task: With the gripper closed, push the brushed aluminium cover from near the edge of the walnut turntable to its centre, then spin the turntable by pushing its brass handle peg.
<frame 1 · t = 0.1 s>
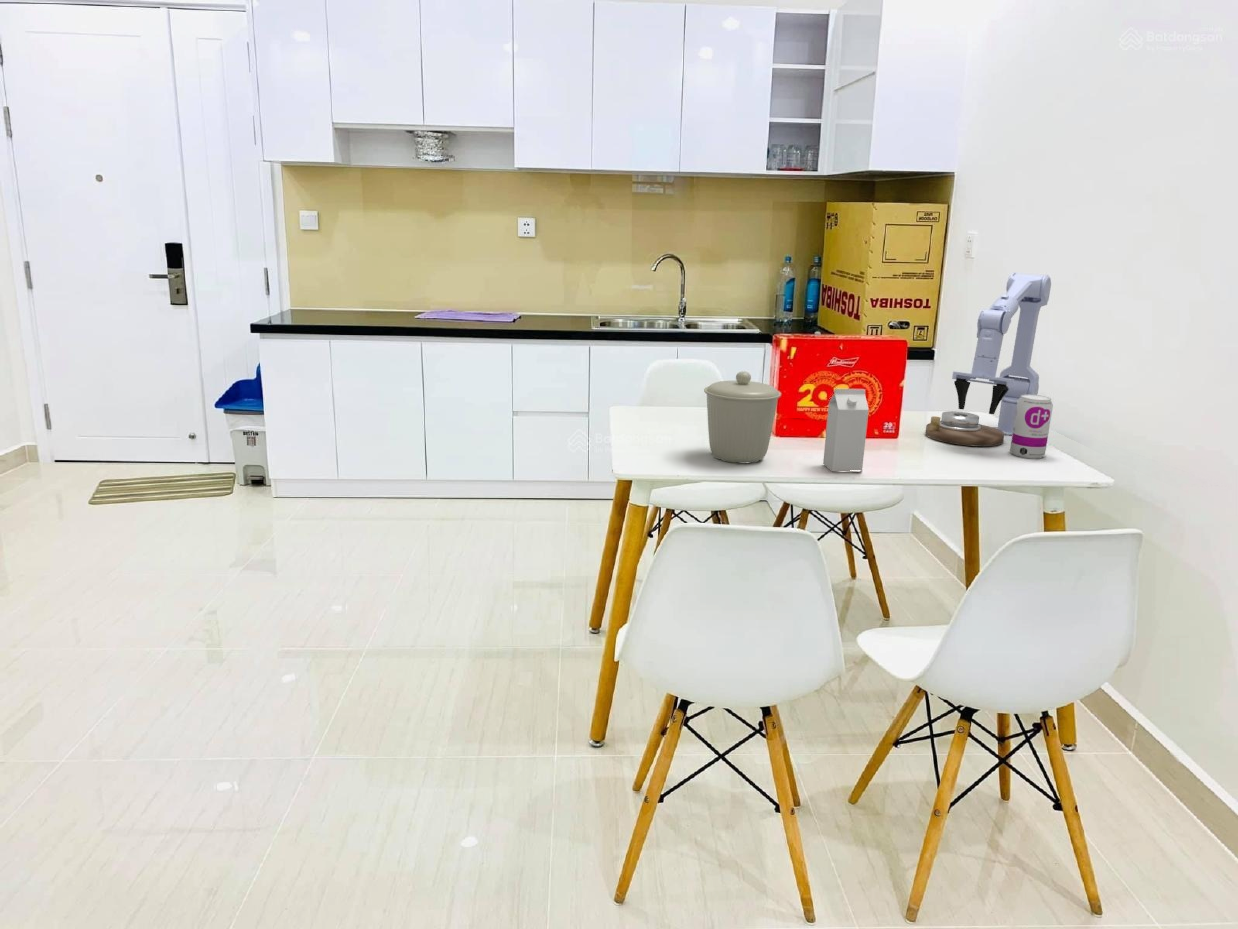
hand: (976, 411, 230), 11 cm above the table, tool pointing down, fingers open, 7 cm apart
canister: (737, 458, 220), on the table
turntable: (964, 427, 247), point 3 cm above the table, hinge at 0.0°, touching cover
supplement can: (1026, 455, 232), on the table
french press: (813, 417, 268), on the table
milk carton: (842, 469, 213), on the table
cover: (958, 427, 250), point 2 cm above the table, touching turntable
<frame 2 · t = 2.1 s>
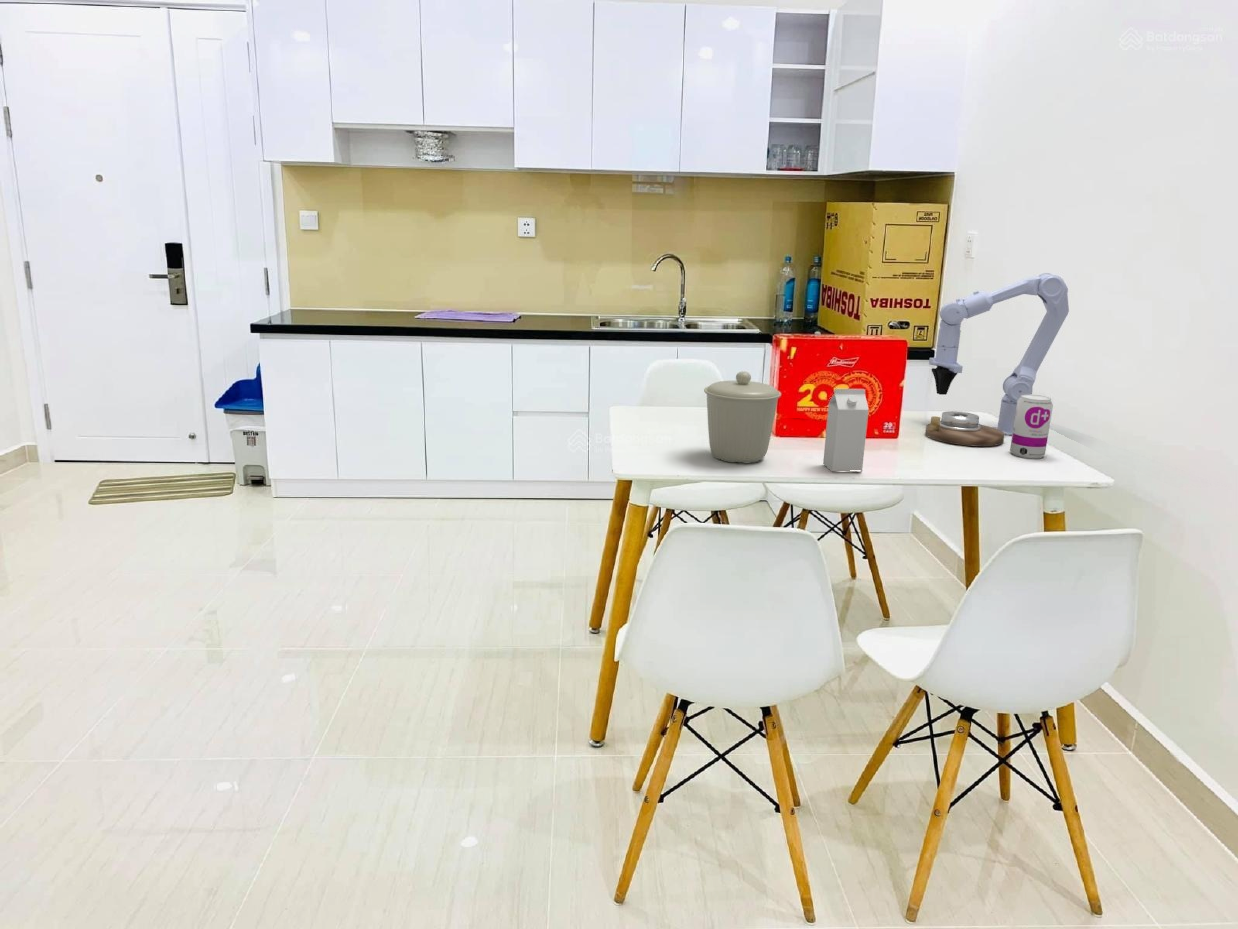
hand: (941, 393, 258), 9 cm above the table, tool pointing down, fingers closed
nothing on the table moved.
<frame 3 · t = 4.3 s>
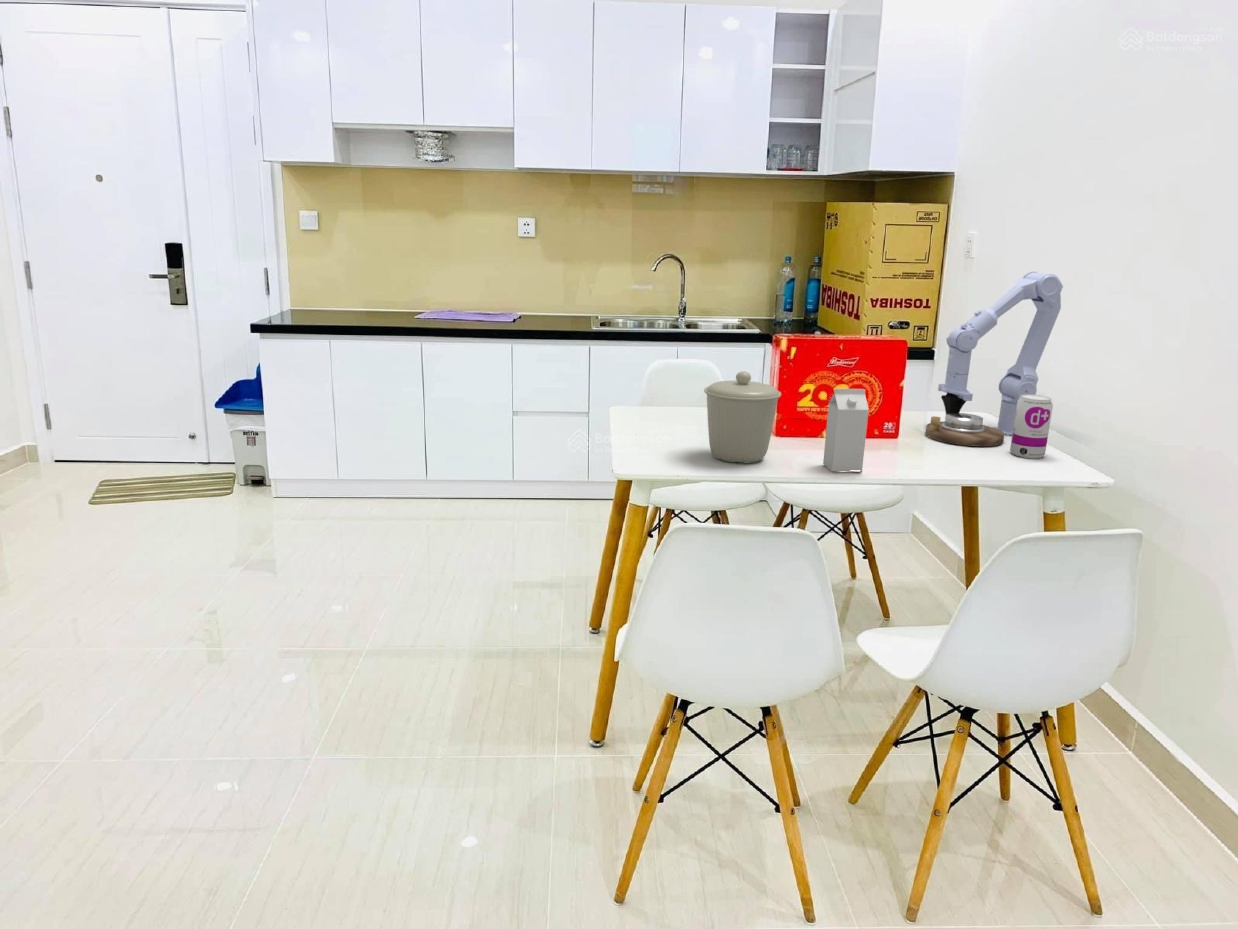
hand: (951, 421, 253), 3 cm above the table, tool pointing down, fingers closed
cover: (962, 428, 248), point 2 cm above the table, touching gripper, turntable
everything else where it was.
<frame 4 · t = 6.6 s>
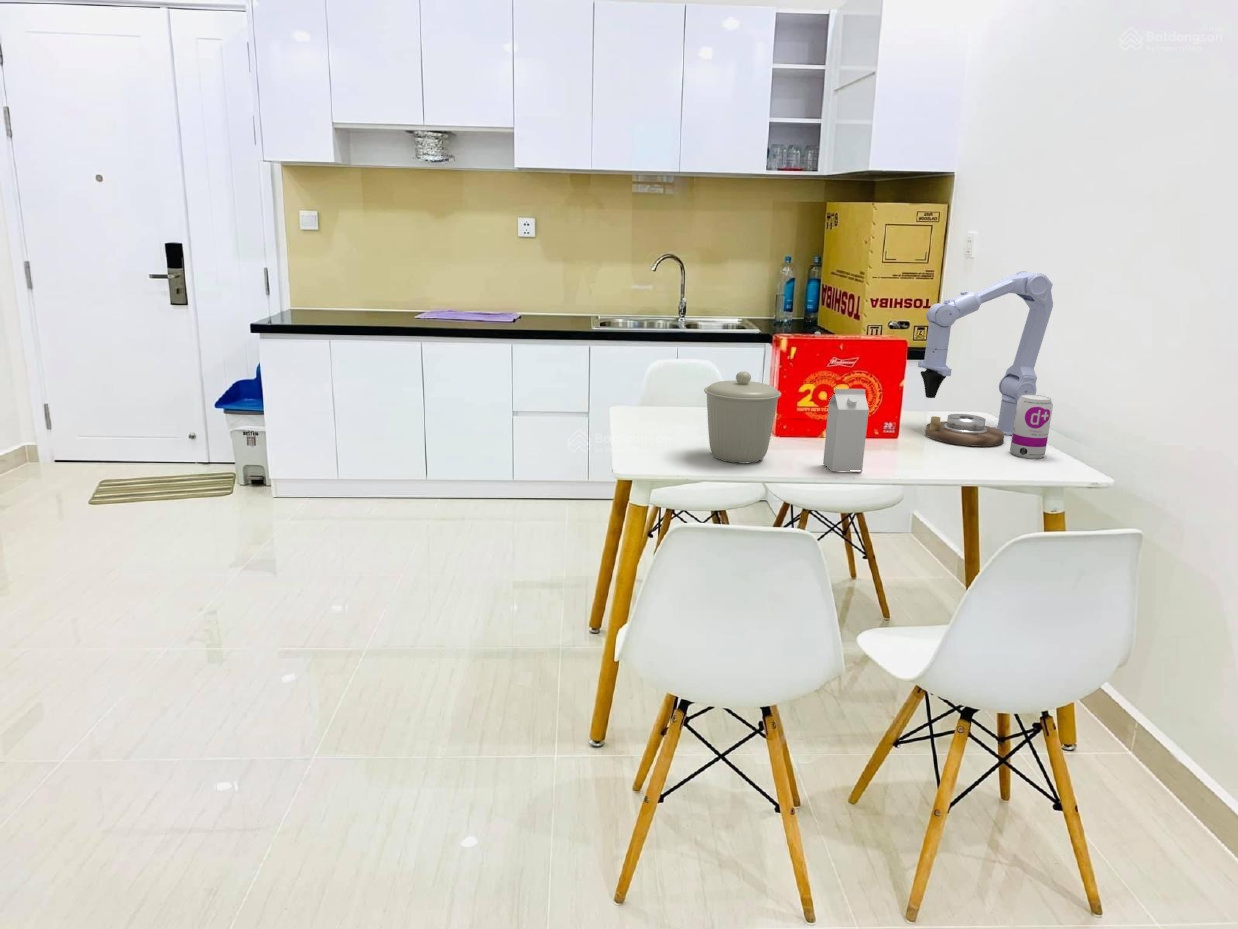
hand: (930, 397, 251), 10 cm above the table, tool pointing down, fingers closed
cover: (964, 429, 247), point 2 cm above the table, touching turntable
everything else where it was.
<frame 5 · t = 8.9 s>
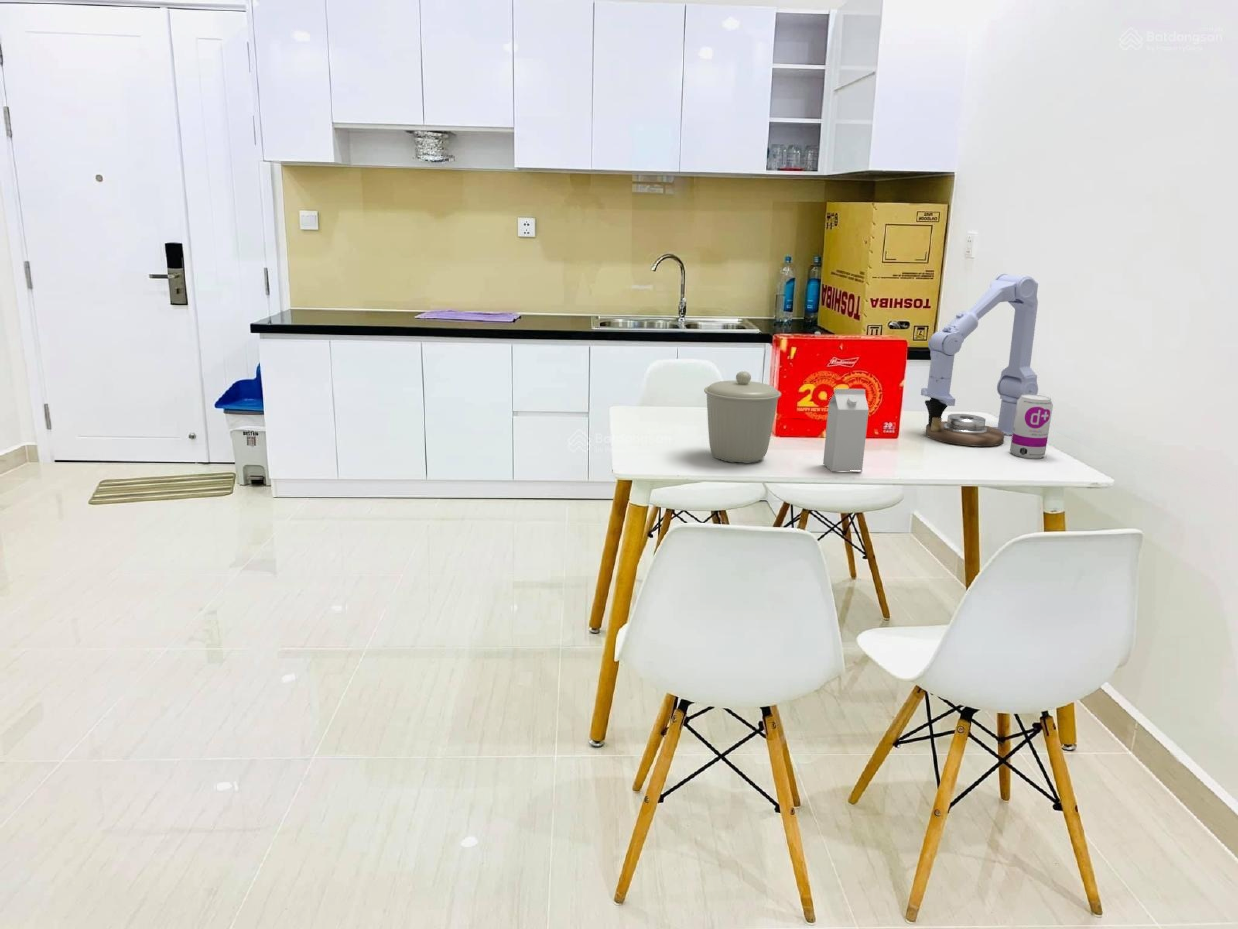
hand: (933, 426, 246), 3 cm above the table, tool pointing down, fingers closed, pressing on turntable
turntable: (964, 427, 247), point 3 cm above the table, hinge at 3.7°, touching cover, gripper
everything else where it was.
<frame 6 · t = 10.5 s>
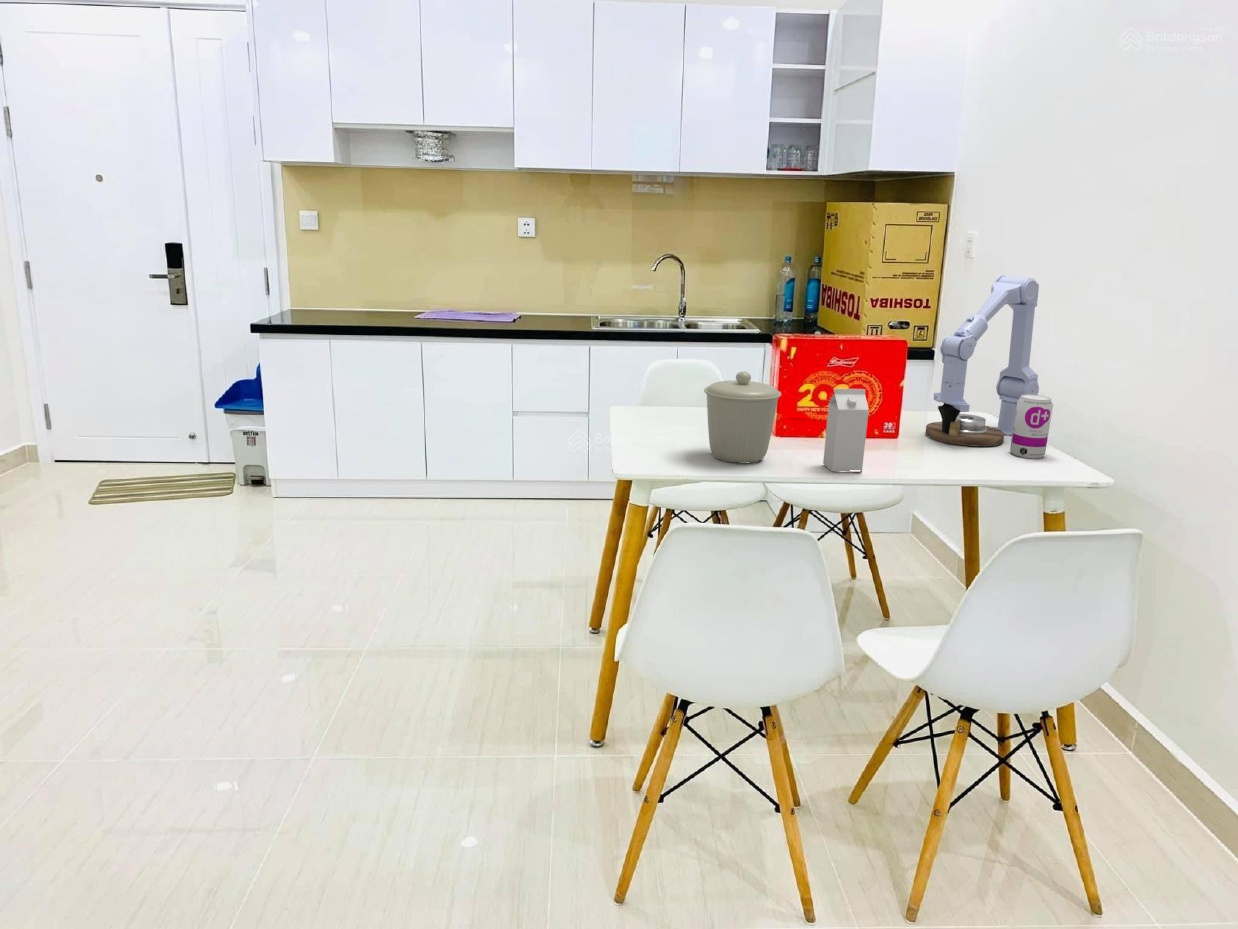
hand: (947, 432, 241), 3 cm above the table, tool pointing down, fingers closed, pressing on turntable
turntable: (965, 427, 246), point 3 cm above the table, hinge at 41.2°, touching cover, gripper
everything else where it was.
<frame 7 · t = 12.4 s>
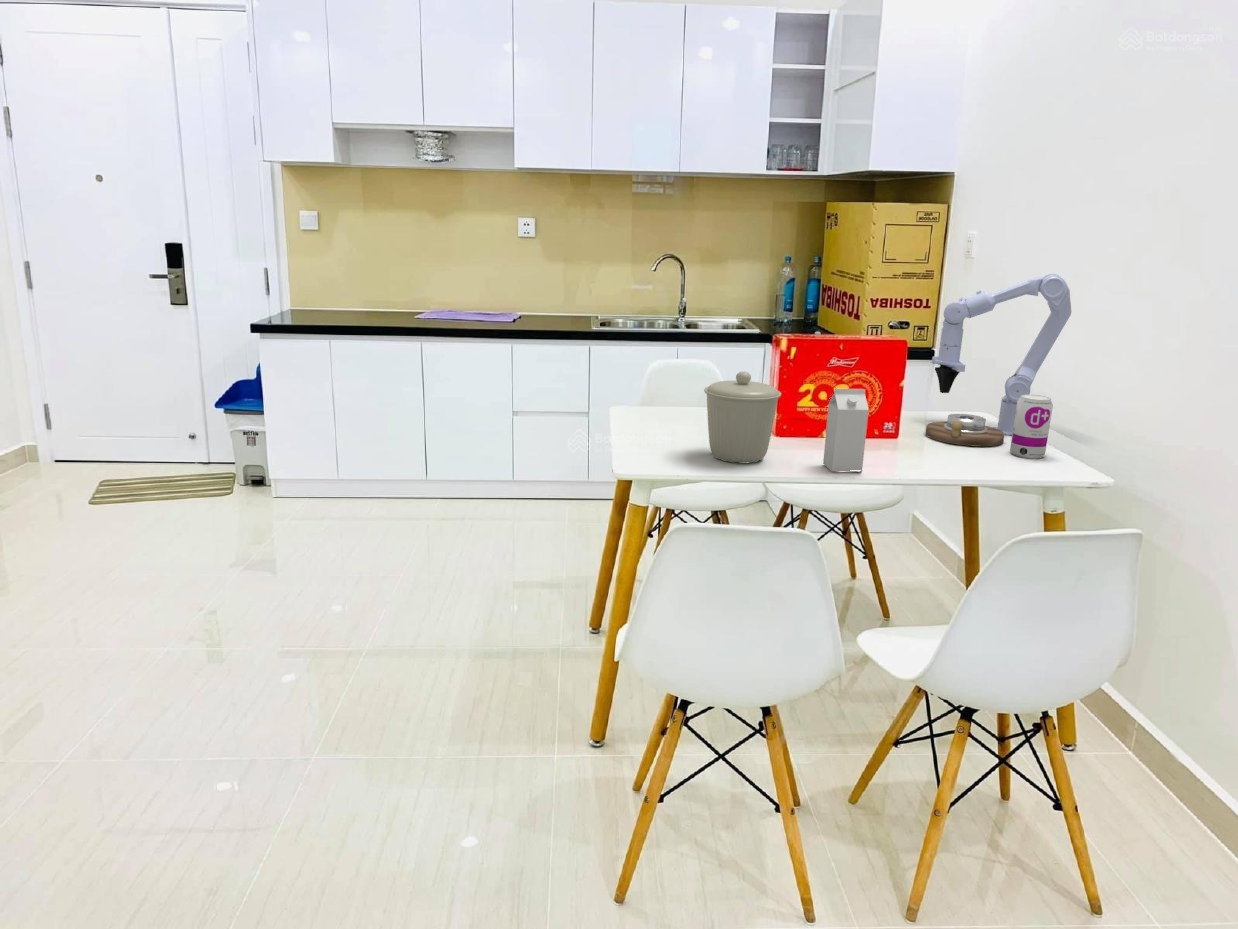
hand: (944, 392, 260), 9 cm above the table, tool pointing down, fingers closed
turntable: (965, 427, 246), point 3 cm above the table, hinge at 44.8°, touching cover
everything else where it was.
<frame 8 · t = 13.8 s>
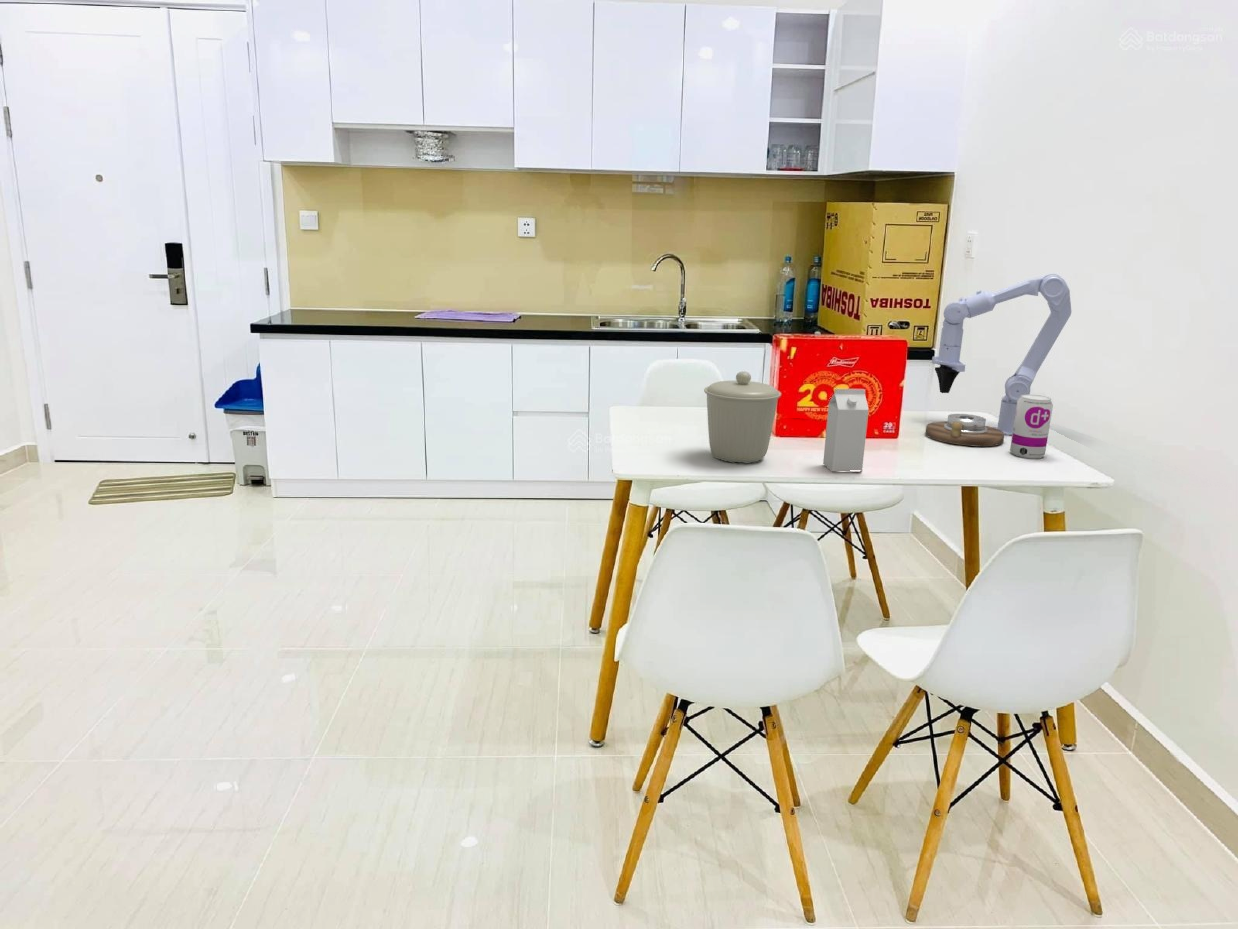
hand: (944, 392, 260), 9 cm above the table, tool pointing down, fingers closed
nothing on the table moved.
at the end: cover 0.1 cm from the turntable (horizontally); turntable at +45° (first picture: +0°); cover tilted 0° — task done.
